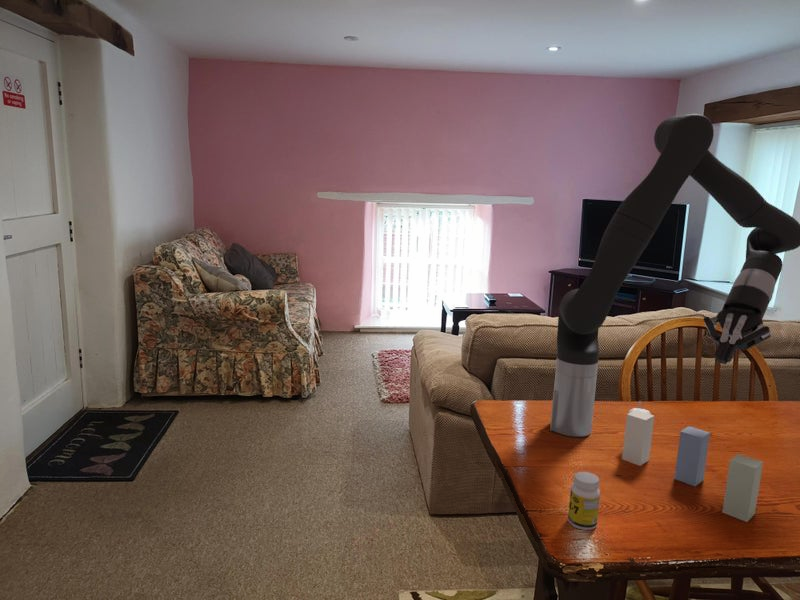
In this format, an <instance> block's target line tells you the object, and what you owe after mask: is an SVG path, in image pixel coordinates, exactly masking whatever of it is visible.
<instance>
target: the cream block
mask: <svg viewBox="0 0 800 600" xmlns="http://www.w3.org/2000/svg"><path fill="white" fill-rule="evenodd" d="M654 422H655V415H654V414H647V413H644V412H641V411H638V410H635V411H633V412H631V413H629V412H628V413H627V414H626V419H625V427H624V428H625V429H624V437H623V448H622V454H621V460H623V461H626V462H629V463H631V464H634V465H637V466H639V467H641V466H642V465H644V464H646V463H647V462H649V461H650V456H651V448H652V439H653V431H654Z"/></svg>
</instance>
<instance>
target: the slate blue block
mask: <svg viewBox="0 0 800 600" xmlns="http://www.w3.org/2000/svg"><path fill="white" fill-rule="evenodd" d="M710 434H711V433H710V432H709V431H706V430H704V429H700V428H699V429H698V428H696V427H692V426H690V425H689V426H687V427H685V428H684V429H682V430H680V433H679V440H678V441H679V442H678V446H677V448H678V449H677V456H676V463H675V464H676V465H675V472H674V480H676V481H679V482H682V483H685V484H688V485H690V486H693V487H697V486H698V485H699V484H700V483H702V482H703V481H704V480H705V479H704V477H705V472H706V465H707V458H708V456H707V455H708V451H709V450H708V449H709V442H710V436H711V435H710Z"/></svg>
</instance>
